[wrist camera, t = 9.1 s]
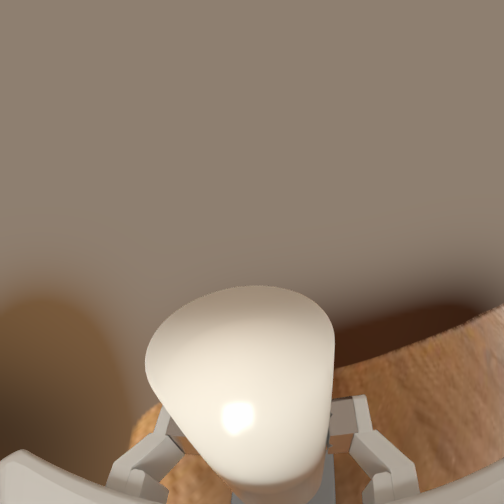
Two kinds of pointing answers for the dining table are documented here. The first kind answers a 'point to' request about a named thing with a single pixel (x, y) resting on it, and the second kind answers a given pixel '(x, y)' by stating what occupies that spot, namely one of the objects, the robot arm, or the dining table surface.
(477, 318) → the dining table surface
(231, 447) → the white pillar candle
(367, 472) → the robot arm
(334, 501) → the plinth
